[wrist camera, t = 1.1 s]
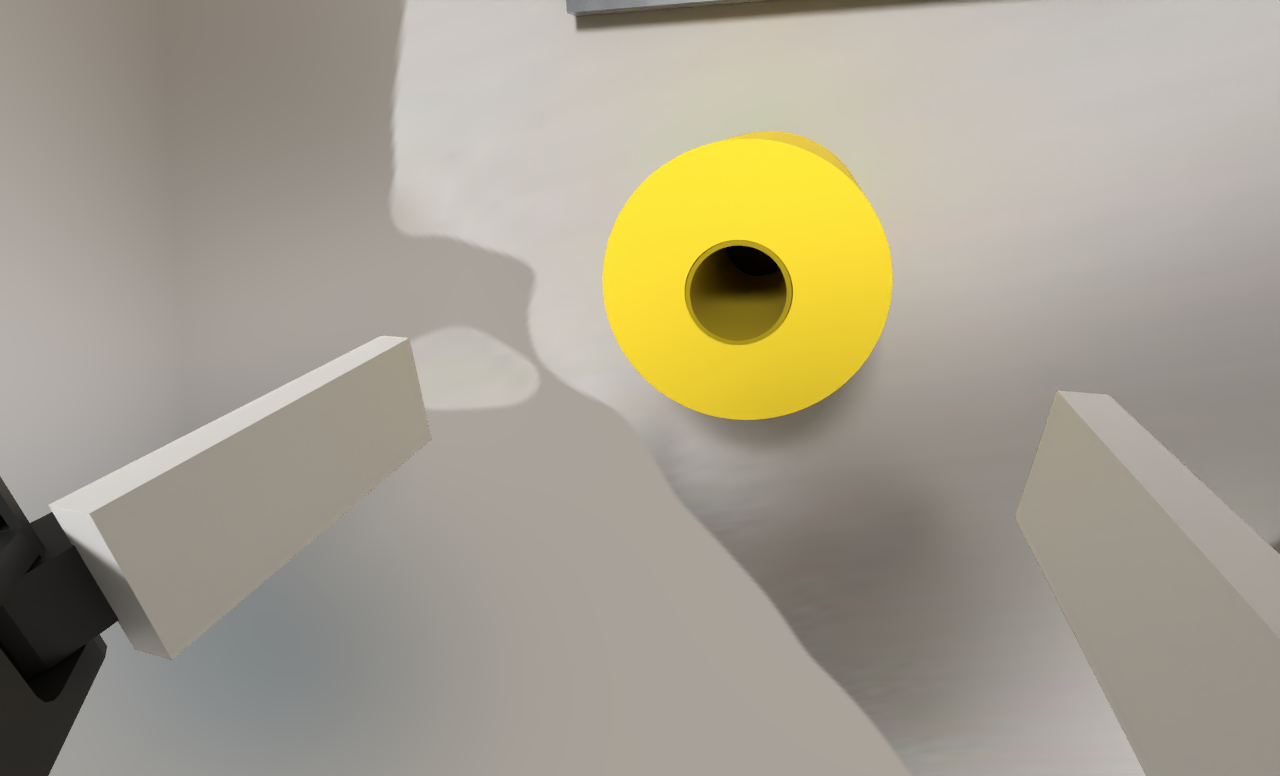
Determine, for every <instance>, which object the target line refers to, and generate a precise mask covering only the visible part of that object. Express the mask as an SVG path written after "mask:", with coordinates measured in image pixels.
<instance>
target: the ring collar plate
mask: <svg viewBox="0 0 1280 776" xmlns="http://www.w3.org/2000/svg"><path fill="white" fill-rule="evenodd" d="M757 1H769V0H566V2H567V13H569V14H572V15H574V16H584V15H596V14H608V13H621V12H633V11H646V10H658V9H670V8H683V7H695V6H708V5H720V4H732V3H745V2H757Z"/></svg>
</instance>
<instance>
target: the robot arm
mask: <svg viewBox="0 0 1280 776" xmlns="http://www.w3.org/2000/svg"><path fill="white" fill-rule="evenodd" d="M430 440H431V435H430V431H429V426H428V421H427V417H426V412H425V408H424V403H423V399H422V394H421V389H420V385H419V380H418V376H417V371H416V367H415V362H414V358H413V353H412V348H411V344H410V339H409V338H403V337H391V336H380V337H378V338H376V339H374V340H372V341H370V342H368V343H366V344H364V345H362V346H360V347H358V348H357V349H354V350H352V351H351V352H349V353H347V354H345V355H343V356H341V357H339V358H337V359H335V360H333V361H331V362H329V363H327V364H325V365H323V366H321V367H319V368H317V369H315V370H313V371H311V372H309V373H307V374H305V375H303V376H301V377H299V378H298V379H295V380H293V381H291V382H289V383H287V384H285V385H284V386H282V387H280V388H278V389H276V390H274V391H272V392H270V393H268V394H266V395H264V396H262V397H260V398H258V399H256V400H254V401H252V402H250V403H248V404H246V405H244V406H242V407H241V408H238V409H236V410H234V411H233V412H230V413H228V414H226V415H225V416H223V417H221V418H219V419H217V420H215V421H213V422H211V423H209V424H207V425H205V426H203V427H201V428H199V429H197V430H195V431H193V432H191V433H189V434H187V435H185V436H183V437H181V438H179V439H177V440H175V441H173V442H171V443H169V444H167V445H166V446H164V447H162V448H160V449H158V450H156V451H154V452H152V453H150V454H148V455H146V456H144V457H142V458H140V459H138V460H136V461H134V462H132V463H130V464H128V465H126V466H124V467H122V468H120V469H118V470H116V471H114V472H112V473H110V474H109V475H107V476H104V477H103V478H101V479H99V480H97V481H95V482H93V483H91V484H89V485H87V486H85V487H83V488H81V489H79V490H77V491H75V492H73V493H71V494H69V495H67V496H65V497H63V498H61V499H59V500H58V501H55V502H54V503H52V504H49V507H50V508H51V510H52V512H51V513H49V514H47V515H46V516H44V517H42V518H40V519H37V520H35V521H34V522H31V523H29V521H28V520H27V518H26V517H25V515H24V514H23V512H22V510H21V509H20V507H19V506H18V504H17V502H16V501H15V499H14V498H13V496H12V495H11V493H10V491H9V490H8V488H7V486H6V485H5V483H4V482H3V480H2V478H1V477H0V776H48V775H49V773H50V771H51V769H52V767H53V765H54V763H55V761H56V758H57V756H58V754H59V752H60V750H61V748H62V746H63V744H64V742H65V740H66V738H67V736H68V733H69V731H70V729H71V727H72V725H73V723H74V721H75V719H76V717H77V714H78V713H79V711H80V708H81V706H82V704H83V702H84V700H85V698H86V696H87V694H88V692H89V690H90V687H91V685H92V683H93V681H94V679H95V677H96V675H97V673H98V671H99V669H100V666H101V665H102V663H103V661H104V658H105V655H106V649H107V646H106V644H105V642H104V641H103V639H102V638H101V636H100V633H102V632H103V631H104V630H106V629H107V628H109V627H110V626H111V625H112V624H114V623H115V622H117V621H118V622H119V624H120V625H121V627H122V629H123V630H124V632H125V634H126V635H127V637H128V639H129V640H130V642H131V644H132V645H133V647H134V649H136V650H139V651H143V652H146V653H149V654H153V655H157V656H160V657H164V658H167V659H171V660H172V659H174V658H175V657H176V656H177V655H178V654H180V653H181V652H182V651H183V650H184V649H185V648H187V647H188V646H189V645H190V644H191V643H192V642H194V641H195V640H196V639H197V638H198V637H199V636H201V635H202V634H203V633H204V632H205V631H207V630H208V629H209V628H210V627H211V626H213V625H214V624H215V623H216V622H217V621H218V620H219V619H221V618H222V617H223V616H224V615H225V614H227V613H228V612H229V611H230V610H231V609H232V608H234V607H235V606H236V605H237V604H238V603H240V602H241V601H242V600H243V599H244V598H245V597H247V596H248V595H249V594H250V593H251V592H253V591H254V590H255V589H256V588H257V587H258V586H260V585H261V584H262V583H263V582H264V581H266V580H267V579H268V578H269V577H270V576H271V575H273V574H274V573H275V572H276V571H277V570H278V569H280V568H281V567H282V566H283V565H284V564H285V563H287V562H288V561H289V560H290V559H291V558H293V557H294V556H295V555H296V554H297V553H298V552H299V551H301V550H302V549H303V548H304V547H306V546H307V545H308V544H309V543H310V542H311V541H313V540H314V539H315V538H316V537H317V536H319V534H321V533H322V532H323V531H324V530H325V529H327V528H328V527H329V526H330V525H332V524H333V523H334V522H335V521H336V520H337V519H339V518H340V517H341V516H342V515H343V514H344V513H346V512H347V511H348V510H349V509H350V508H351V507H353V506H354V505H355V504H356V503H357V502H358V501H360V500H361V499H362V498H363V497H364V496H366V495H367V494H368V493H369V492H370V491H372V490H373V489H374V488H375V487H376V486H377V485H379V484H380V483H381V482H382V481H383V480H384V479H386V478H387V477H388V476H389V475H390V474H391V473H393V472H394V471H395V470H396V469H397V468H399V467H400V466H401V465H402V464H403V463H405V462H406V461H407V460H408V459H409V458H410V457H412V455H414V454H415V453H416V452H417V451H419V450H420V449H421V448H422V447H423V446H425V445H426V444H427V443H428V442H429V441H430ZM1015 519H1016V520H1017V522H1018V524H1019V526H1020V528H1021V530H1022V532H1023V534H1024V536H1025V538H1026V540H1027V542H1028V544H1029V546H1030V548H1031V550H1032V552H1033V554H1034V556H1035V558H1036V560H1037V562H1038V564H1039V566H1040V568H1041V570H1042V572H1043V574H1044V576H1045V578H1046V580H1047V581H1048V583H1049V585H1050V587H1051V589H1052V591H1053V593H1054V595H1055V597H1056V599H1057V601H1058V603H1059V605H1060V607H1061V609H1062V611H1063V613H1064V615H1065V617H1066V619H1067V621H1068V623H1069V625H1070V627H1071V629H1072V631H1073V633H1074V635H1075V637H1076V639H1077V641H1078V642H1079V644H1080V646H1081V648H1082V650H1083V652H1084V654H1085V656H1086V658H1087V660H1088V662H1089V664H1090V666H1091V668H1092V670H1093V672H1094V674H1095V676H1096V678H1097V680H1098V682H1099V684H1100V686H1101V688H1102V690H1103V692H1104V694H1105V696H1106V698H1107V700H1108V702H1109V703H1110V705H1111V707H1112V709H1113V711H1114V713H1115V715H1116V717H1117V719H1118V721H1119V723H1120V725H1121V727H1122V729H1123V731H1124V733H1125V735H1126V737H1127V739H1128V741H1129V743H1130V745H1131V747H1132V749H1133V751H1134V753H1135V755H1136V757H1137V759H1138V761H1139V763H1140V764H1141V766H1142V768H1143V770H1144V772H1145V774H1146V776H1280V554H1279V553H1278V552H1277V551H1276V550H1274V549H1273V548H1272V547H1271V546H1270V545H1269V544H1268V543H1267V542H1266V541H1265V540H1264V539H1263V538H1262V537H1261V536H1259V535H1258V534H1257V533H1256V532H1255V531H1254V530H1253V529H1252V528H1251V527H1250V526H1249V525H1248V524H1247V523H1246V522H1245V521H1243V520H1242V519H1241V518H1240V517H1239V516H1238V515H1237V514H1236V513H1235V512H1234V511H1233V510H1232V509H1231V508H1230V507H1228V506H1227V505H1226V504H1225V503H1224V502H1223V501H1222V500H1221V499H1220V498H1219V497H1218V496H1217V495H1216V494H1215V493H1213V492H1212V491H1211V490H1210V489H1209V488H1208V487H1207V486H1206V485H1205V484H1204V483H1203V482H1202V481H1201V480H1200V479H1198V478H1197V477H1196V476H1195V475H1194V474H1193V473H1192V472H1191V471H1190V470H1189V469H1188V468H1187V467H1186V466H1185V465H1183V464H1182V463H1181V462H1180V461H1179V460H1178V459H1177V458H1176V457H1175V456H1174V455H1173V454H1172V453H1171V452H1170V451H1168V450H1167V449H1166V448H1165V447H1164V446H1163V445H1162V444H1161V443H1160V442H1159V441H1158V440H1157V439H1156V438H1155V437H1153V436H1152V435H1151V434H1150V433H1149V432H1148V431H1147V430H1146V429H1145V428H1144V427H1143V426H1142V425H1141V424H1140V423H1138V422H1137V421H1136V420H1135V419H1134V418H1133V417H1132V416H1131V415H1130V414H1129V413H1128V412H1127V411H1126V410H1125V409H1124V408H1122V407H1121V406H1120V405H1119V404H1118V403H1117V402H1116V401H1115V400H1114V399H1113V398H1112V397H1111V396H1110V395H1107V394H1094V393H1082V392H1070V391H1057V392H1056V395H1055V398H1054V401H1053V404H1052V407H1051V410H1050V413H1049V416H1048V419H1047V422H1046V425H1045V428H1044V431H1043V434H1042V437H1041V440H1040V443H1039V446H1038V449H1037V452H1036V455H1035V458H1034V461H1033V464H1032V467H1031V470H1030V473H1029V476H1028V479H1027V483H1026V486H1025V489H1024V492H1023V495H1022V498H1021V501H1020V504H1019V507H1018V510H1017V513H1016V516H1015Z"/></svg>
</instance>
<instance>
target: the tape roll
mask: <svg viewBox="0 0 1280 776" xmlns="http://www.w3.org/2000/svg"><path fill="white" fill-rule="evenodd" d="M737 245H741V246H749V247H753V248H756V249H758V250H760V251H762V252H764V253H766V254H767V255H768V256H770V257H771V258H772V259H773V260H774V261H775V262H776V263H777V265H778V266H779V268H780V269H779V270H778V271H776V272H774V273H772V274H769V275H766V276H751V275H748V274H745V273H743V272H741V271H740V270H738V269H737V268H736V267H735V266H734V265H733V264H732V262H731V261H730V259H729V257H728V254H727V250H726V247H729V246H737ZM892 280H893V278H892V262H891V255H890V250H889V246H888V242H887V239H886V236H885V233H884V230H883V227H882V225H881V223H880V221H879V218H878V216H877V215H876V213H875V211H874V209H873V208H872V206H871V204H870V203H869V201H868V200H867V198H866V196H865V195H864V193H863V192H862V190H861V189H860V187H859V186H858V184H857V182H856V181H855V179H854V178H853V176H852V175H851V173H850V172H849V170H848V169H847V168H846V167H845V165H844V164H843V163H842V162H841V161H840V160H839V159H838V158H837V157H836V156H835V155H834V154H832V153H831V152H830V151H829V150H827V149H826V148H824V147H823V146H821V145H819V144H818V143H816V142H814V141H812V140H809V139H807V138H804V137H802V136H798V135H795V134H791V133H785V132H776V131H763V132H753V133H748V134H744V135H740V136H736V137H733V138H729V139H725V140H722V141H718V142H714V143H710V144H707V145H704V146H700V147H698V148H695V149H692V150H690V151H688V152H685V153H683V154H681V155H679V156H677V157H676V158H674V159H672V160H670V161H669V162H667V163H666V164H664V165H663V166H662V167H660V168H659V169H657V170H656V171H655V172H654V173H653V174H651V175H650V176H649V177H648V178H647V179H646V180H645V181H644V182H643V183H642V184H641V185H640V186H639V187H638V188H637V189H636V191H635V192H634V193H633V194H632V196H631V197H630V198H629V200H628V201H627V202H626V204H625V206H624V207H623V209H622V210H621V212H620V214H619V216H618V218H617V220H616V222H615V224H614V226H613V229H612V231H611V234H610V237H609V240H608V244H607V248H606V252H605V257H604V265H603V295H604V302H605V308H606V312H607V316H608V319H609V323H610V325H611V328H612V331H613V333H614V335H615V338H616V340H617V342H618V344H619V346H620V347H621V349H622V351H623V352H624V354H625V356H626V357H627V359H628V360H629V361H630V363H631V364H632V365H633V366H634V368H635V369H636V370H637V371H638V372H639V373H640V374H641V376H642V377H643V378H644V379H645V380H647V381H648V382H649V383H650V384H651V385H652V386H653V387H655V388H656V389H657V390H658V391H660V392H661V393H663V394H664V395H665V396H667V397H669V398H670V399H672V400H674V401H675V402H677V403H679V404H681V405H683V406H685V407H687V408H690V409H692V410H695V411H698V412H701V413H704V414H707V415H711V416H715V417H720V418H726V419H736V420H758V419H768V418H774V417H779V416H783V415H787V414H790V413H793V412H796V411H799V410H802V409H804V408H807V407H809V406H811V405H813V404H815V403H817V402H819V401H821V400H822V399H824V398H826V397H827V396H829V395H830V394H832V393H833V392H834V391H836V390H837V389H838V388H840V387H841V386H842V385H843V384H844V383H846V382H847V381H848V380H849V379H850V378H851V377H852V376H853V375H854V374H855V373H856V372H857V371H858V369H859V368H860V367H861V366H862V365H863V363H864V362H865V361H866V359H867V358H868V356H869V355H870V353H871V352H872V350H873V348H874V347H875V345H876V343H877V341H878V339H879V337H880V335H881V333H882V330H883V328H884V325H885V322H886V319H887V315H888V312H889V307H890V302H891V295H892Z"/></svg>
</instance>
